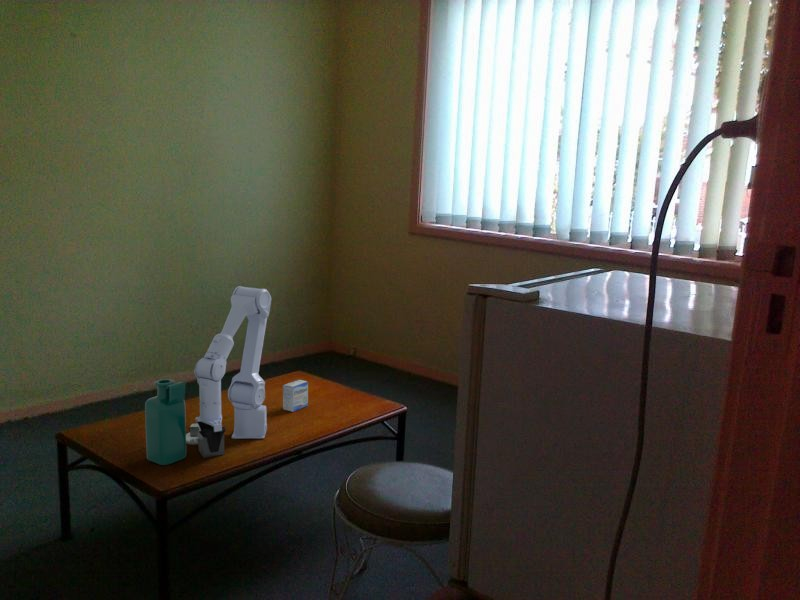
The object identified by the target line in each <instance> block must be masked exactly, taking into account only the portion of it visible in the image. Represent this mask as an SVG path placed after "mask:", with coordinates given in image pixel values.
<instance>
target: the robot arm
mask: <svg viewBox="0 0 800 600" xmlns="http://www.w3.org/2000/svg"><path fill="white" fill-rule="evenodd" d="M230 304H231V307H230V311H229V313H228V315H227V317H226V320H225V322H224V325H223V328H222V330H221V332H220V333H217V334H215V335H214V337H213V339H212V340H211V342H210V345H209V346H208V348H207V351H206V353H205V354H204V356H203V357H201V359H198V361H196V364H195V367H194V369H193V371H194V375H195V378H196V379H197V380H196V381H197V384H198V386H199V388H198V389H199V416H196V417H195V421H196V422H197V423H198V425H199V427H200V429H201V431H203V430H204V431H205V433H206V435H207V438H208V443H209V449H210V452H211V453H213V452H218V451H219V447H220V443H221V439H222V436H223V434H224V435H225V433H226V430H227V429H226V427H225V426H223V424H222V421H223V414H222V379H223V377H224V375H225V374H226V370H227V369H226V367H227V363H228V362H227V359H228V357H229V355H230V353H231V351H232V350H233V347H234V345H235V342H234V339H233V338H234V336H235V335H236V333H237V331H238V330H239V328H240V326H241V325H242V323H243V322H244V320H245V318H247V320H248V322H247V327H246V335H245V339H244V346H243V351H242V359H241V364H240V371H239V372H238V373H237V374H235V375H234V376H233V377H232V379H231V384H230V386H229V387H228V389H227V398H228V400H229V401H230V403H231V405H232V407H233V408H234V409H233V410H234V411H233V414H234V422H233V423H234V425H233V426H234V429H233V433H232V435H231V439H235V440H237V439H265V437H266V434H267V430H268V424H267V405H263V403H264V401H265V399H266V390H265V386H266V381H264V379H263V378H262V377H261V376H260V374H259V372H260V365H261V359H262V354H263V353H262V352H263V347H264V340H265V334H266V328H267V321H268V318H269V316H270V311H271V306H272V305H271V304H272V296H271V294H270V292H269V291H268V290H267V288H255V287H249V286H248V287H247V286H246V287H245V286H243V285H242V286H241V285H239V286H236V287H235V289H234V290H233V292H232V296H231V297H230Z"/></svg>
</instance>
